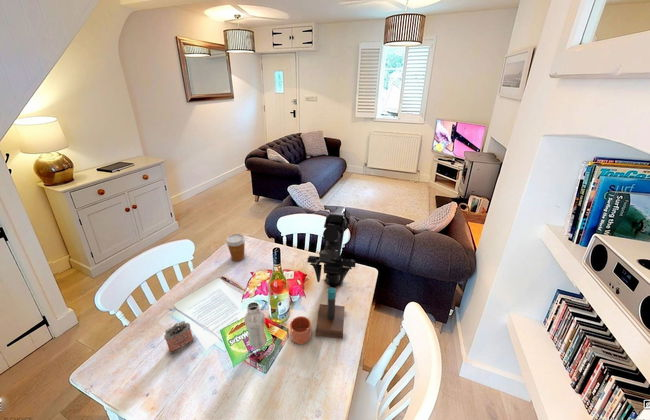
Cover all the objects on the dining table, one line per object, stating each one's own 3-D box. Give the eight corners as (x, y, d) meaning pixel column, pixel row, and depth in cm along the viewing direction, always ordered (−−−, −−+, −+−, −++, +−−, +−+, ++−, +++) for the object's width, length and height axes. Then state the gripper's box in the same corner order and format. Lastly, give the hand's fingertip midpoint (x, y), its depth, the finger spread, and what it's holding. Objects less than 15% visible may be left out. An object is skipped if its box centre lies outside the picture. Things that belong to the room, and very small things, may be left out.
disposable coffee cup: (225, 261, 138) (221, 242, 133) (234, 251, 147) (231, 232, 141) (242, 264, 137) (239, 244, 132) (250, 253, 145) (248, 234, 140)
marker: (329, 312, 104) (330, 286, 98) (336, 316, 102) (337, 289, 97) (325, 317, 102) (326, 290, 96) (331, 321, 100) (332, 294, 95)
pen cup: (304, 323, 104) (304, 313, 101) (314, 337, 98) (314, 326, 96) (287, 332, 100) (286, 322, 98) (296, 347, 94) (296, 336, 92)
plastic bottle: (264, 359, 90) (259, 315, 82) (245, 355, 91) (238, 312, 83) (271, 342, 96) (267, 300, 87) (253, 339, 97) (247, 297, 88)
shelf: (319, 311, 110) (319, 303, 108) (344, 313, 109) (344, 306, 107) (315, 336, 99) (315, 328, 97) (342, 339, 98) (343, 331, 96)
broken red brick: (192, 335, 98) (186, 315, 94) (195, 341, 96) (190, 321, 92) (168, 349, 93) (160, 329, 89) (171, 356, 91) (164, 335, 86)
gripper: (303, 240, 105) (299, 281, 102) (349, 244, 98) (345, 288, 95) (314, 243, 115) (310, 280, 112) (357, 246, 108) (354, 286, 105)
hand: (329, 283), depth 106 cm, fingers open, 9 cm apart
